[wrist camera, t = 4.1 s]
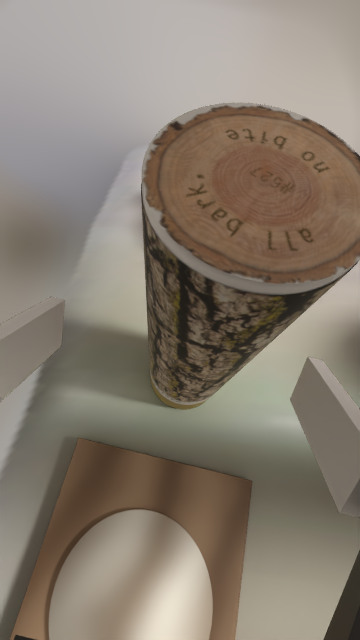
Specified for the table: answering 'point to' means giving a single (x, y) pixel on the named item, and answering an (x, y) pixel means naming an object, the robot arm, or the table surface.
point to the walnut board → (139, 552)
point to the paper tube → (239, 237)
